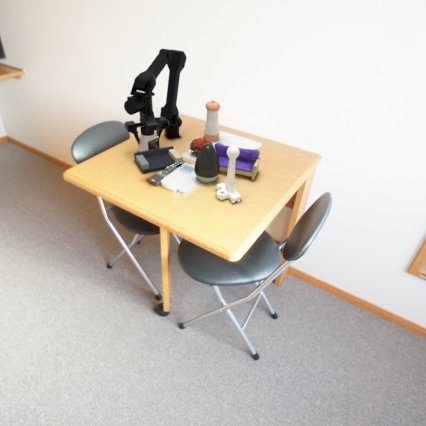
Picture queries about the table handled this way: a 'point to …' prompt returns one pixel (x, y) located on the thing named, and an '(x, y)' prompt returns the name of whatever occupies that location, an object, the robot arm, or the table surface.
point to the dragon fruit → (198, 144)
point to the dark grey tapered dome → (207, 163)
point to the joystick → (229, 178)
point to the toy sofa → (239, 160)
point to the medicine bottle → (148, 140)
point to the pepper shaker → (212, 121)
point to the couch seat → (157, 159)
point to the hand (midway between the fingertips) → (148, 142)
